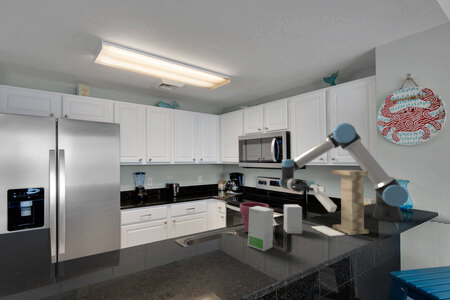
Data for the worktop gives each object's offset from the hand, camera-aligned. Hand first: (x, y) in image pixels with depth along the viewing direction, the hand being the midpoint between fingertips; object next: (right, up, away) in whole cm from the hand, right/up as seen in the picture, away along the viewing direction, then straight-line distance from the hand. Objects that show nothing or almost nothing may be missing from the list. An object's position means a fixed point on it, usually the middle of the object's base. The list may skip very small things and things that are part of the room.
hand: (321, 190), depth 124 cm
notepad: (+1, -20, -5) cm, 20 cm away
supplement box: (-16, -20, -6) cm, 26 cm away
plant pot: (-35, -20, -5) cm, 41 cm away
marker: (0, -4, +1) cm, 4 cm away
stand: (+13, -20, -3) cm, 24 cm away
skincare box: (-35, -19, -27) cm, 48 cm away
